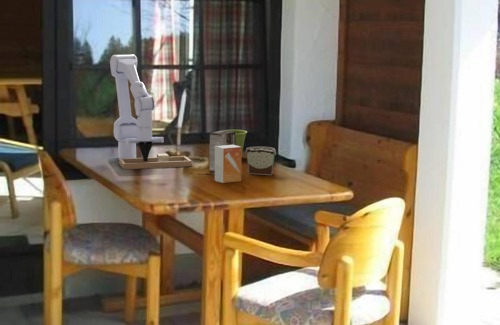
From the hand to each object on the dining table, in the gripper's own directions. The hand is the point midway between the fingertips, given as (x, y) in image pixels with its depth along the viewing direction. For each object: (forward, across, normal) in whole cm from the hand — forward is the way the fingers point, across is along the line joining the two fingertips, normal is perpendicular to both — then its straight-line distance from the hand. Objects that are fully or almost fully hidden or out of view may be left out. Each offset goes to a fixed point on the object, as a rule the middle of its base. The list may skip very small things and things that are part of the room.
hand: (145, 161), depth 356 cm
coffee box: (+4, +28, -16) cm, 32 cm away
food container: (+4, +42, -20) cm, 47 cm away
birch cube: (+2, +7, 0) cm, 7 cm away
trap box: (+3, +4, 0) cm, 5 cm away
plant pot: (+3, +40, +17) cm, 44 cm away
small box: (+4, +26, -32) cm, 41 cm away
